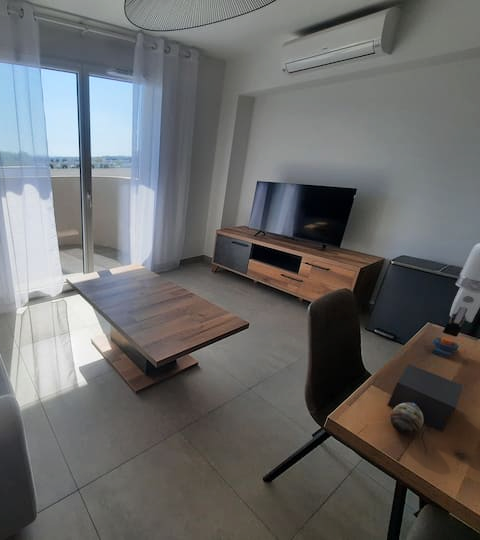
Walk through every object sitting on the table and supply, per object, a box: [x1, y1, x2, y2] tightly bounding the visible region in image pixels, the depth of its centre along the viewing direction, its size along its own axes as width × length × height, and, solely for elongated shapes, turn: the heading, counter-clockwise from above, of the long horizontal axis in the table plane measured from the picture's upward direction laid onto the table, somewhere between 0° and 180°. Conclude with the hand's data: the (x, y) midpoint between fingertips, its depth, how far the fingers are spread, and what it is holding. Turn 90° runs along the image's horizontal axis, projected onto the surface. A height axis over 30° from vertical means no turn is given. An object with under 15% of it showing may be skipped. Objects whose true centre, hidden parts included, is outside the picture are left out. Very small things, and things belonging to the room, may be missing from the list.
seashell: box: [390, 403, 424, 436], centre depth 74 cm, size 10×6×8 cm, turn 125°
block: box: [431, 337, 460, 360], centre depth 104 cm, size 10×6×4 cm, turn 127°
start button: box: [440, 336, 455, 346], centre depth 103 cm, size 3×3×2 cm
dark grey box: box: [387, 363, 464, 433], centre depth 80 cm, size 12×11×8 cm
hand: (449, 333), depth 95 cm, fingers closed
